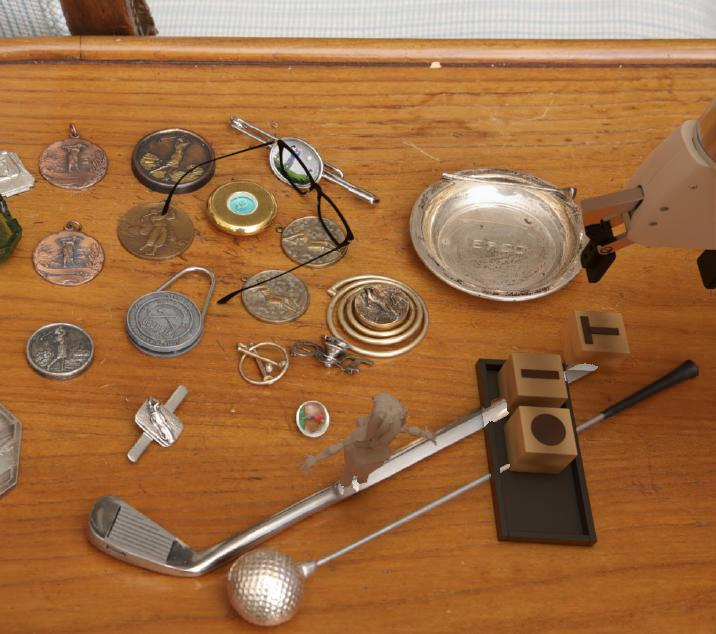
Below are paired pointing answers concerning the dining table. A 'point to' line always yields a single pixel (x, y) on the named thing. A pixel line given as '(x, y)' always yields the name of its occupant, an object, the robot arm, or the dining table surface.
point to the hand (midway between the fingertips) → (646, 272)
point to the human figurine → (370, 440)
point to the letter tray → (534, 484)
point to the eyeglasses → (314, 185)
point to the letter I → (532, 381)
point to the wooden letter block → (595, 340)
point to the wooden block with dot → (539, 440)
